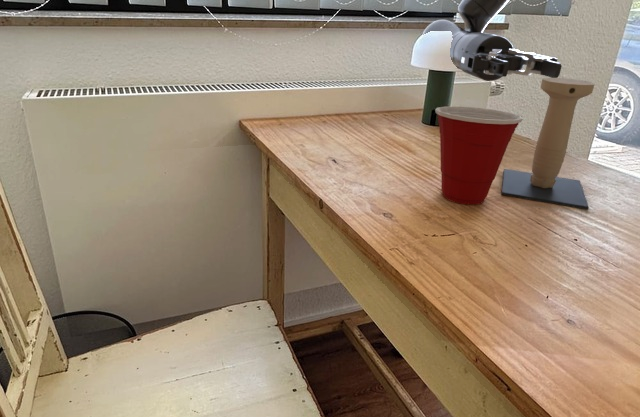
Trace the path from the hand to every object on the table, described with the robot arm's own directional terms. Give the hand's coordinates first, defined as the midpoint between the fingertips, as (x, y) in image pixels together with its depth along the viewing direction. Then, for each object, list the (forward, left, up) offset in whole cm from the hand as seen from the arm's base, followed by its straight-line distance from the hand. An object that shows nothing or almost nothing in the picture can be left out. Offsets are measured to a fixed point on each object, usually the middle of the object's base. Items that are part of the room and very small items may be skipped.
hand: (532, 70), depth 73 cm
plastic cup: (+6, +16, -16) cm, 23 cm away
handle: (-4, +8, -15) cm, 18 cm away
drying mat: (-4, +8, -15) cm, 18 cm away
